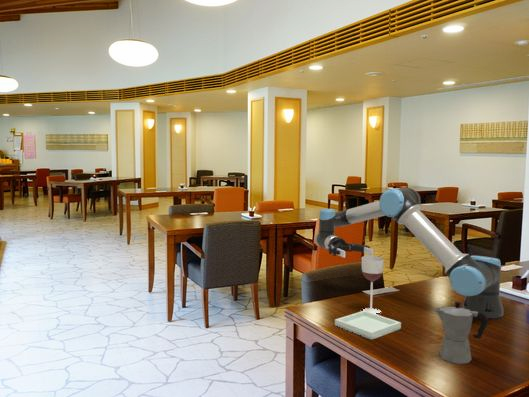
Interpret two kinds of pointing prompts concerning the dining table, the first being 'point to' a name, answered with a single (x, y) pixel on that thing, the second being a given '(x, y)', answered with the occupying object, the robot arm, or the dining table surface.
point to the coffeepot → (458, 332)
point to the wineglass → (372, 274)
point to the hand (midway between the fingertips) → (358, 253)
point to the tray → (368, 324)
